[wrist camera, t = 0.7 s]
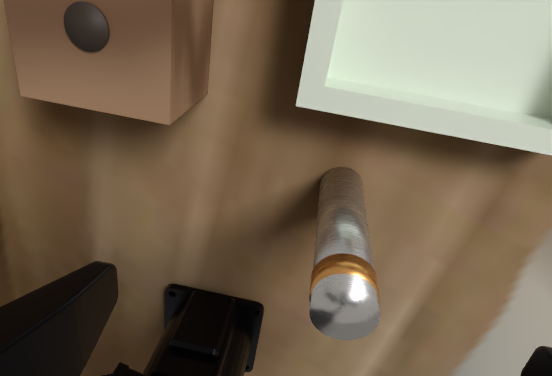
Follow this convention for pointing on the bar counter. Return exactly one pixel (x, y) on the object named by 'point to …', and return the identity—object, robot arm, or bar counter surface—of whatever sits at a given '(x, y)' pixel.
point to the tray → (436, 67)
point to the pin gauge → (343, 260)
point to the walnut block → (113, 54)
